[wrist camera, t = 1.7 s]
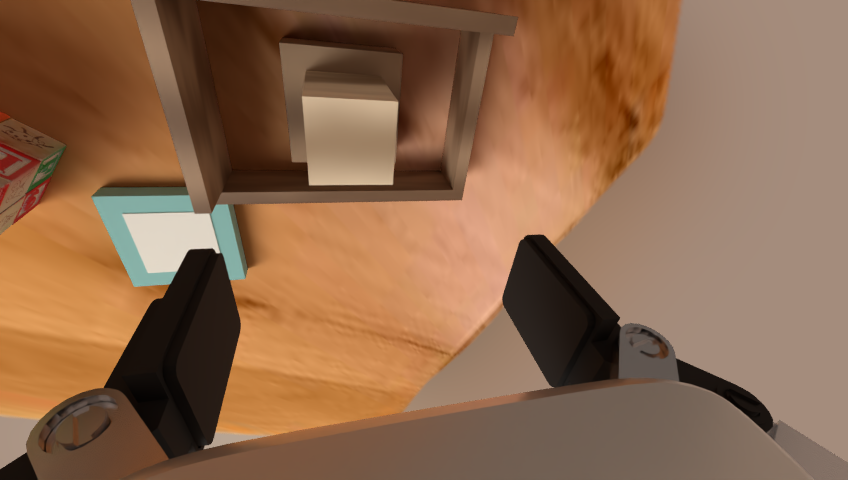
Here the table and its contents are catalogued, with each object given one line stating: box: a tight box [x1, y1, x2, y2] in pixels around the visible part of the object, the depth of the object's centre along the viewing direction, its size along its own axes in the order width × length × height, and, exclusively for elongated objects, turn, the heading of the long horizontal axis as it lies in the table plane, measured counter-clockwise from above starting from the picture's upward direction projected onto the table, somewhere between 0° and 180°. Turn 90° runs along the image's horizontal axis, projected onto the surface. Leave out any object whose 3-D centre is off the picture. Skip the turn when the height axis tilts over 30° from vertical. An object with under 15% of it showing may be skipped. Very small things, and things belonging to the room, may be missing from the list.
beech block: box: [302, 70, 398, 185], centre depth 23 cm, size 5×5×7 cm
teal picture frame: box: [91, 187, 248, 287], centre depth 30 cm, size 9×9×2 cm
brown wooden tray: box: [131, 0, 518, 214], centre depth 25 cm, size 14×20×7 cm
